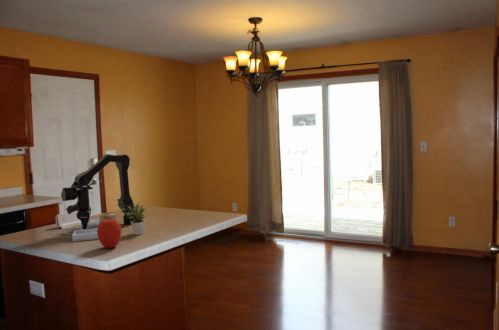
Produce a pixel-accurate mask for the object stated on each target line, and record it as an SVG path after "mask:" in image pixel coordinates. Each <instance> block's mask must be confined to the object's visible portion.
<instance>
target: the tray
mask: <svg viewBox="0 0 499 330" xmlns="http://www.w3.org/2000/svg"><path fill="white" fill-rule="evenodd" d="M97 229H98V228H95V229H85V230H75V231H74V232H73V235H71V236H72V242H81V241H89V240H90V241H91V240H99V238H98V234H97Z"/></svg>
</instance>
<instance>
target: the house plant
mask: <svg viewBox="0 0 499 330" xmlns="http://www.w3.org/2000/svg"><path fill="white" fill-rule="evenodd" d="M126 206H127V205H126ZM133 206H134V208H133V210H134V212H135V213H134V212H133V210H132V209H131V208H130V207H129V206H128V207H129V208H130V209H131V211H132V212H133V213H132V212H131V211H130V209H129V211H130V212H131V213H126V214H128V215H129V214H133V216H134V215H135V216H134V217H135V218H134V217H133V216H132V215H129V216H130V217H131V216H132V217H131V218H132V219H134V221H131V224H130V225H131V230H132V234H133V235H134V236H135V235H137V236H139V235H143V234H144V233H145V224H146V220H145V219H144V218H145V216H144V215H145V213H144V212H145V210H146V209H147V206H145V207H143V206H142V204H141V203H140V202H136V203H135V204H134V205H133ZM127 210H128V208H127ZM143 213H144V214H143ZM148 213H149V212H146V214H148ZM128 215H127V216H128ZM130 217H128V218H130ZM131 218H130V219H131Z"/></svg>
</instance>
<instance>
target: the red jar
mask: <svg viewBox="0 0 499 330" xmlns="http://www.w3.org/2000/svg"><path fill="white" fill-rule="evenodd" d="M97 234H98V238H99V239H98V240H99V242H100V244H101V245H102V246H103V247H104V248H106V249H112V248H116V246H117V245H118V244H119V242H120V240H121V236H122V226H121V224H120V223H119V221H117V219H116V220H113V219H106V220H103V221H102V222H101V223H100V224H99V226H98V229H97Z"/></svg>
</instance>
